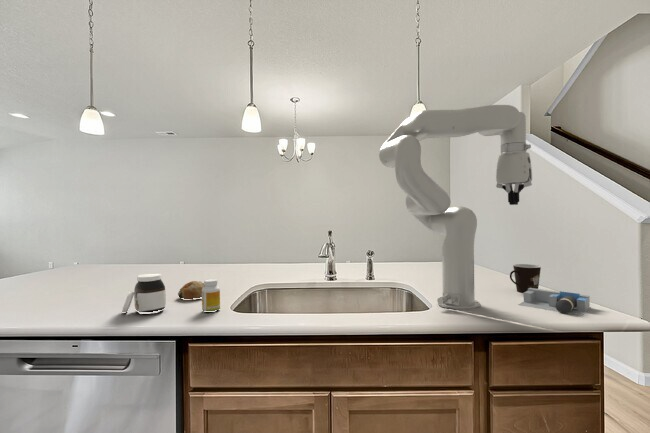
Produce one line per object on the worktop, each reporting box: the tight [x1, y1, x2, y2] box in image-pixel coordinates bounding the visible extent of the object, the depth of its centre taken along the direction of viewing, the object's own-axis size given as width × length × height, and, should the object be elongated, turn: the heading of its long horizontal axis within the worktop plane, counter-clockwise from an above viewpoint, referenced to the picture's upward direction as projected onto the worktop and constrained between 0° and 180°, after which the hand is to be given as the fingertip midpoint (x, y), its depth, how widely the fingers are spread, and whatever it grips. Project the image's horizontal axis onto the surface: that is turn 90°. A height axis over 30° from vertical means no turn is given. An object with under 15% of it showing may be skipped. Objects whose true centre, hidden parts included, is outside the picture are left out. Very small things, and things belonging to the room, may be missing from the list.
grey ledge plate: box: [517, 288, 592, 317], centre depth 105 cm, size 12×16×5 cm
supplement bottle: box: [201, 278, 221, 312], centre depth 108 cm, size 5×5×10 cm
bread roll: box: [177, 280, 205, 299], centre depth 126 cm, size 10×10×8 cm
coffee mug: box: [509, 263, 542, 294], centre depth 124 cm, size 12×9×10 cm
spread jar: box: [121, 273, 167, 313], centre depth 108 cm, size 12×11×12 cm
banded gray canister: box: [555, 296, 577, 314], centre depth 100 cm, size 8×4×4 cm, turn 133°
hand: (513, 204), depth 116 cm, fingers closed
